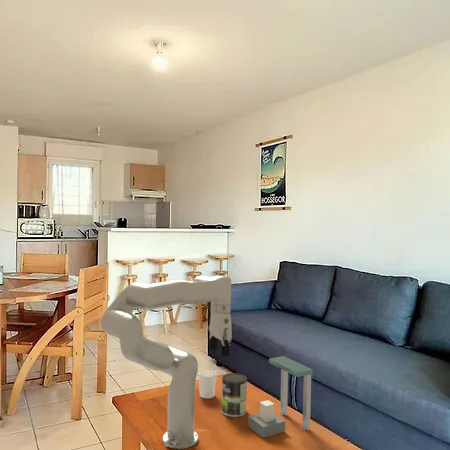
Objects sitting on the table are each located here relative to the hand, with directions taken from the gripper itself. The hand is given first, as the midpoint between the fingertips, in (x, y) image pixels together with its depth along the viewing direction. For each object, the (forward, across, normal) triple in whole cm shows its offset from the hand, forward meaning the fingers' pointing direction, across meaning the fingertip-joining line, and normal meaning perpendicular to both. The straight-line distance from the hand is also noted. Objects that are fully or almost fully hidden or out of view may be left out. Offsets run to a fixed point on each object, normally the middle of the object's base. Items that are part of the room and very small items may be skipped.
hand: (219, 352), depth 166 cm
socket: (+28, -11, -16) cm, 34 cm away
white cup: (+28, +26, -9) cm, 39 cm away
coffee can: (+28, +7, -12) cm, 31 cm away
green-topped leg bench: (+28, -11, -26) cm, 40 cm away
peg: (+28, -11, -15) cm, 34 cm away
